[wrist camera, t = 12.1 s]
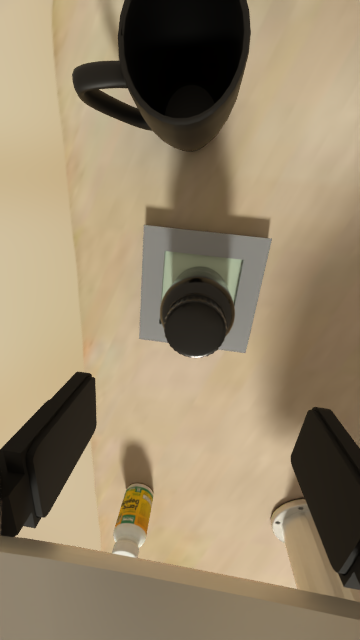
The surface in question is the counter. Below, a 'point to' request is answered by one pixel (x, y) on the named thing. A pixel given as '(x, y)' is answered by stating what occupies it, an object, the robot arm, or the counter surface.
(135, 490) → the supplement bottle
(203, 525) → the counter surface
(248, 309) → the picture frame
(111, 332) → the counter surface
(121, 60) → the mug
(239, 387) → the counter surface
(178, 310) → the supplement bottle
